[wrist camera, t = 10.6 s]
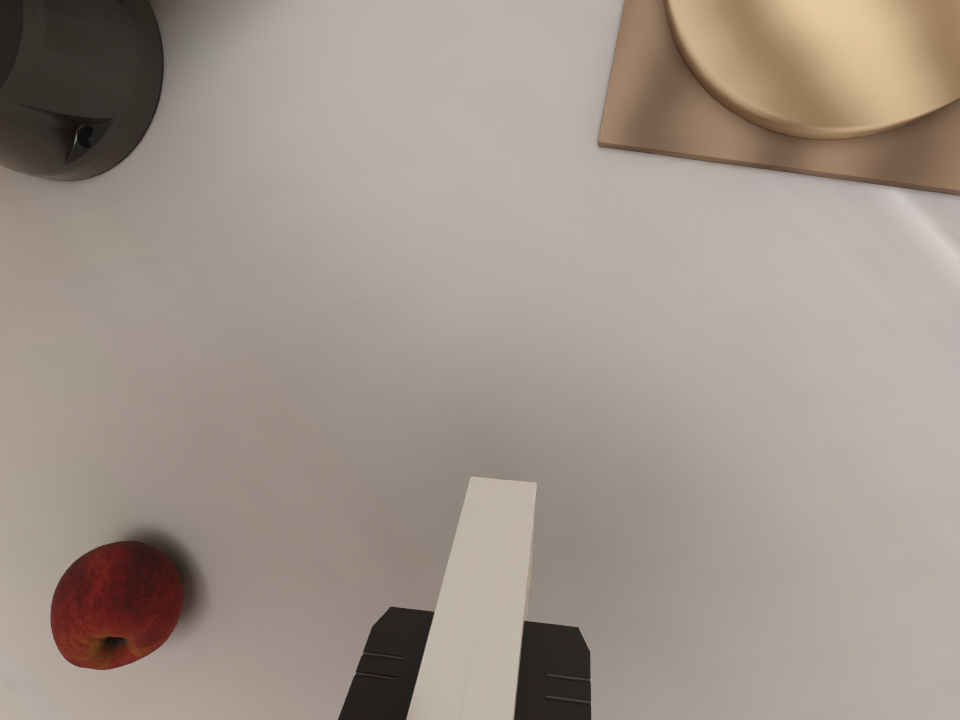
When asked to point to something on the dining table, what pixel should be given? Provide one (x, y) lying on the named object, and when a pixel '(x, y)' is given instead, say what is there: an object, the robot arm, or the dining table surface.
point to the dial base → (733, 140)
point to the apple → (116, 605)
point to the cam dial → (822, 61)
